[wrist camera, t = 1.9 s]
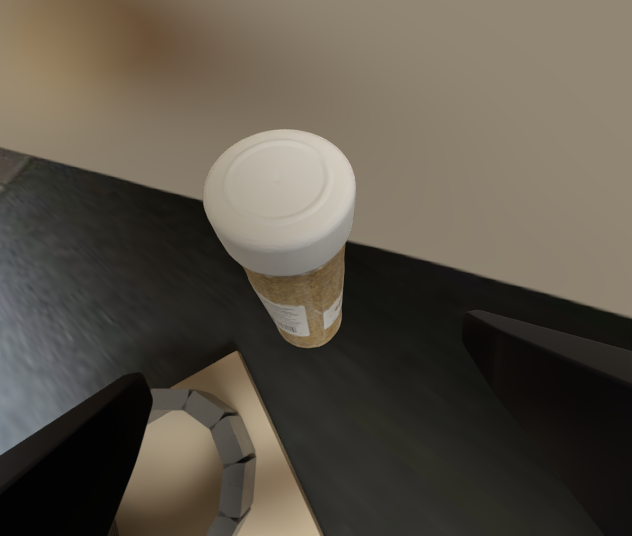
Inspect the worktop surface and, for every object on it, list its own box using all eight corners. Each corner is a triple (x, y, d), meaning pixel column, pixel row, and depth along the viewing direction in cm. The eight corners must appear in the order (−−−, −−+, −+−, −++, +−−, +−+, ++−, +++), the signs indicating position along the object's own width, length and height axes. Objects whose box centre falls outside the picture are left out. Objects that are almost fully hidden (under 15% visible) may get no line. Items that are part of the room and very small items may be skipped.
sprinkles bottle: (354, 326, 20) (390, 196, 8) (295, 363, 20) (238, 279, 7) (318, 273, 22) (305, 102, 10) (262, 305, 21) (174, 160, 9)
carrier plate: (348, 590, 15) (351, 615, 13) (125, 764, 13) (92, 821, 11) (240, 353, 20) (232, 347, 18) (69, 450, 18) (40, 454, 16)
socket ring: (283, 516, 15) (274, 534, 13) (115, 632, 14) (73, 674, 12) (219, 364, 19) (204, 357, 16) (79, 443, 17) (41, 448, 15)
